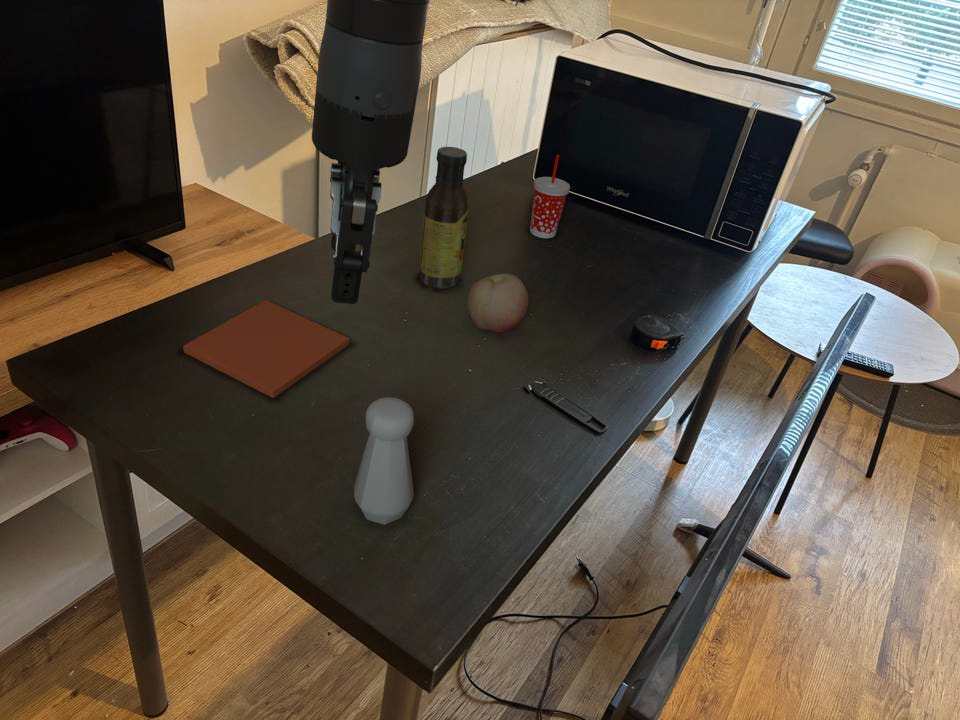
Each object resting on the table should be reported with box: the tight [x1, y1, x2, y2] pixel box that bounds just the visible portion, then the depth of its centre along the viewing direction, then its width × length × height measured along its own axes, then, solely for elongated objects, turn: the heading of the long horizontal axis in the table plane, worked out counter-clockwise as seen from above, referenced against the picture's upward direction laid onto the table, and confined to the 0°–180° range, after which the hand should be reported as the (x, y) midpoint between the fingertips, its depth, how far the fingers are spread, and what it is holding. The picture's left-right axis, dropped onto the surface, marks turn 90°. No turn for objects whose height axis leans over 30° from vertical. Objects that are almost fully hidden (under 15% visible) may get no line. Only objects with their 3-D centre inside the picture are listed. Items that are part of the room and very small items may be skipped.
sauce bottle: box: [419, 146, 470, 290], centre depth 105 cm, size 6×6×20 cm
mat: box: [182, 299, 350, 399], centre depth 91 cm, size 14×14×1 cm
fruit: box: [466, 272, 529, 334], centre depth 100 cm, size 8×8×8 cm
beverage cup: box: [529, 154, 571, 239], centre depth 125 cm, size 6×6×14 cm
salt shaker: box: [353, 396, 415, 526], centre depth 69 cm, size 6×6×13 cm
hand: (343, 274), depth 65 cm, fingers open, 8 cm apart
